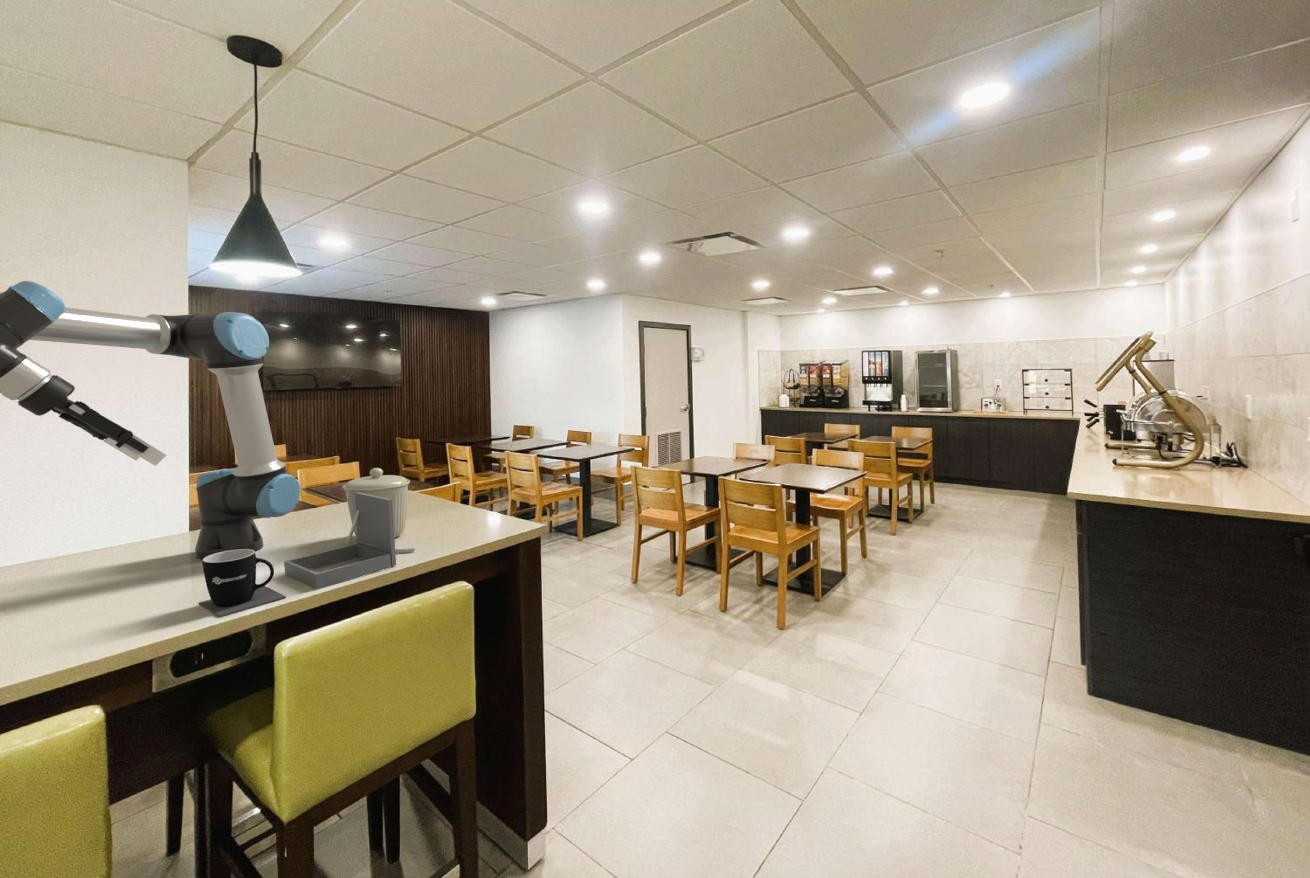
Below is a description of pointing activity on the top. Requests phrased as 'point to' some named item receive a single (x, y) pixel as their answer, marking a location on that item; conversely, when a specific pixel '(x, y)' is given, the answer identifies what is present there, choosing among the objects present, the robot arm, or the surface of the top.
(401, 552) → the rod
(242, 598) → the mug
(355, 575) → the case
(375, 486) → the canister
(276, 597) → the mat
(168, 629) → the top surface
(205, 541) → the robot arm
